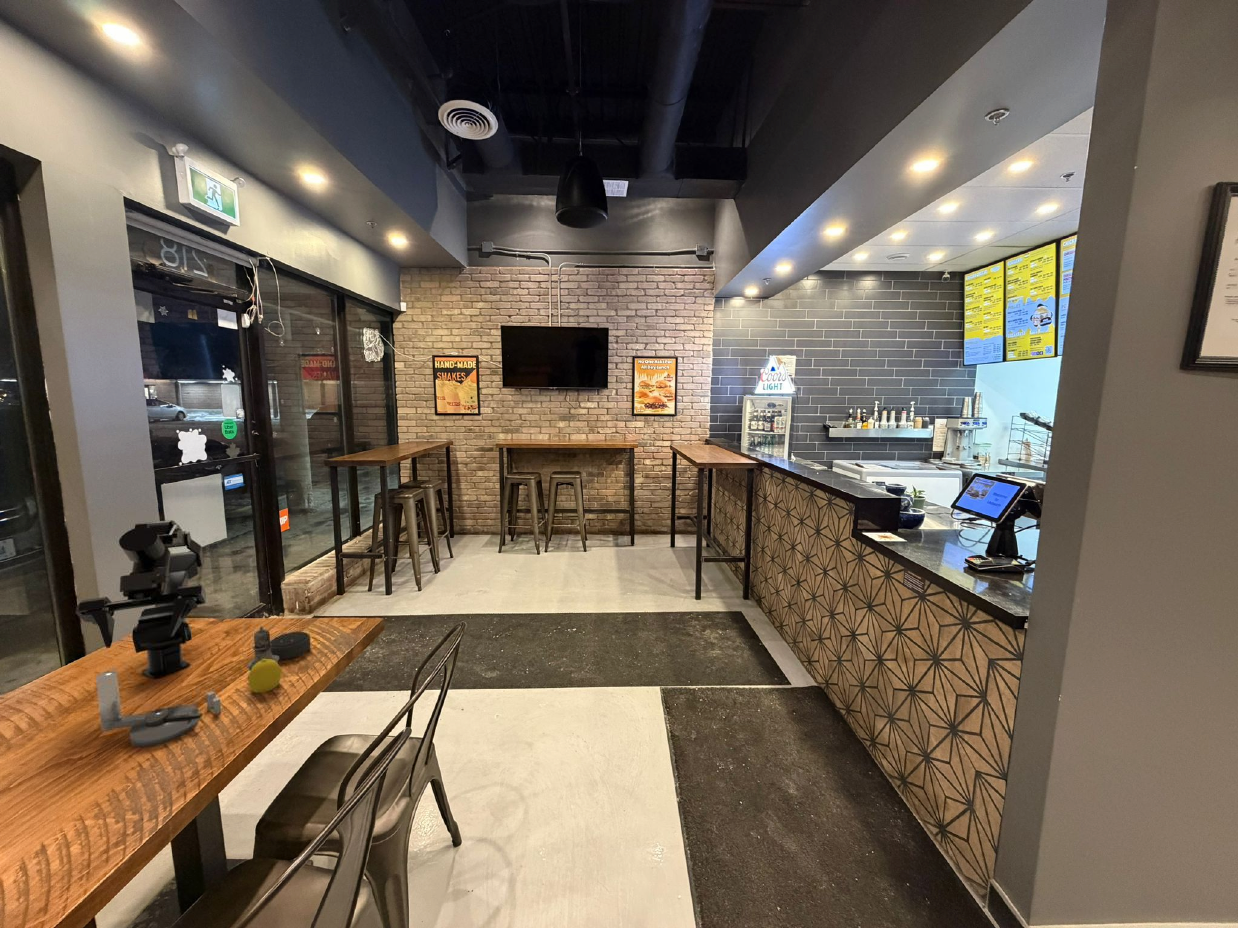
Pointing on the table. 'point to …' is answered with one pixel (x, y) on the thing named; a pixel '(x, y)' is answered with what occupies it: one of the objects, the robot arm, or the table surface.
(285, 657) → the smart speaker
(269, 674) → the lemon
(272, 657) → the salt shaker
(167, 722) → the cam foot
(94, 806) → the table surface
